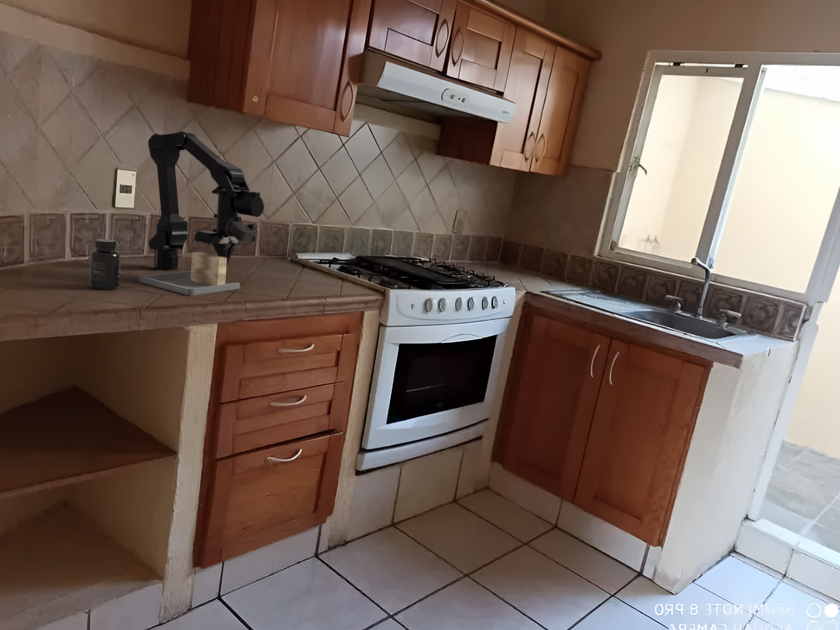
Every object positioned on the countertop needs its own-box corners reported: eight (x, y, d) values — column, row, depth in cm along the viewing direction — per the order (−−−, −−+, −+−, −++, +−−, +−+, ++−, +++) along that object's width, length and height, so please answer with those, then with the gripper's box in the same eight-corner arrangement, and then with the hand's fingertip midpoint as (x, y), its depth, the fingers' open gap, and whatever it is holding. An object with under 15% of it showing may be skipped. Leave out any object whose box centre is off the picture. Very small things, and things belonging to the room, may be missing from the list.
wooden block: (190, 280, 176) (192, 252, 174) (198, 279, 178) (200, 251, 177) (217, 287, 172) (219, 258, 170) (225, 286, 174) (226, 258, 173)
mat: (138, 283, 166) (138, 276, 166) (189, 277, 182) (190, 270, 182) (190, 297, 158) (191, 290, 158) (239, 290, 174) (240, 283, 174)
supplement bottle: (125, 289, 158) (126, 242, 156) (99, 291, 153) (100, 243, 150) (109, 283, 162) (110, 237, 159) (83, 285, 156) (84, 238, 153)
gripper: (226, 216, 165) (222, 273, 168) (271, 215, 181) (267, 268, 185) (194, 210, 169) (192, 266, 173) (241, 210, 186) (238, 261, 189)
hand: (224, 265), depth 180 cm, fingers closed
